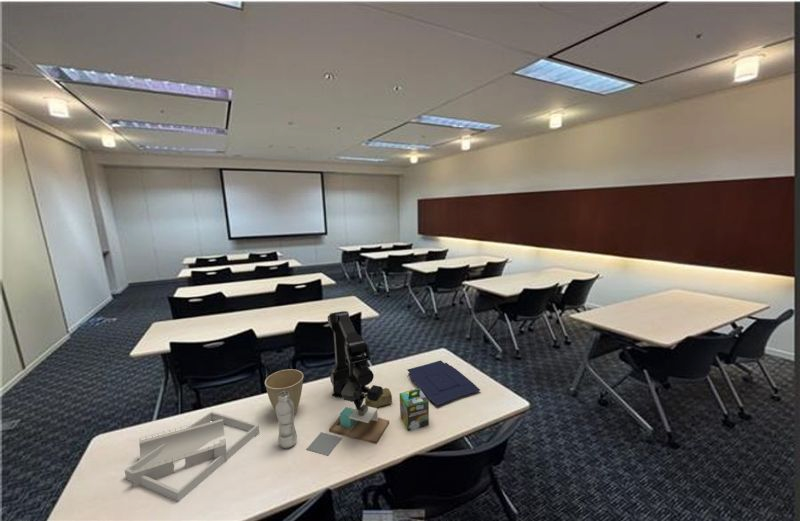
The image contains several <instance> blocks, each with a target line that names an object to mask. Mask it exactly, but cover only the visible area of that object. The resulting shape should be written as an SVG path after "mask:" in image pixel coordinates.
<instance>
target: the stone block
mask: <svg viewBox="0 0 800 521" xmlns="http://www.w3.org/2000/svg"><path fill="white" fill-rule="evenodd" d="M392 395H393V394H392V391H391V390H390V388H387V387H385V388H384V387H383V394H382V395H381V397H380V398H379V399H378V401H372V400H369V399H368V398H367V396H366V397H365V399H364V401H365V402H364V403H365V404H364V405H368V406H369V407H373V408H379V407H382V406H386V405H390V404H391V403H393V396H392Z"/></svg>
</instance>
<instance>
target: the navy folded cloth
mask: <svg viewBox="0 0 800 521" xmlns="http://www.w3.org/2000/svg"><path fill="white" fill-rule="evenodd" d="M406 370H407V372H408V373H407V374H408V376H409V378H410V379H411V380H412V381H413V382H414V383H415V384H416V385H417V386H418V388H420V389H421V391H422V392H423V393H424V395H425V396H426V397H427V398H428V400H429V401H432V402H433V404H434V405H435V406H439V405H442V404H444V403H447V402H449V401H452V400H454V399H457V398H460V397H463V396H466V395H469V394H472V393H475V392H479V391H481V389H480V388H479V387H478V386H477V385H476V384H475V383H474V382H473V381H471V380H470V379H469V378H468V377H466V376H465V375H463V373H462V372H460V371H459V370H458V369H457V368H455V367H454V366H453V365H450V364H449V363H448V362H444V361H442V359H440V360H437V361H433V362H431V363H427V364H423V365H419V366H415V367H411V368H408V369H406Z"/></svg>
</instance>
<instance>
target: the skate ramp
mask: <svg viewBox="0 0 800 521" xmlns="http://www.w3.org/2000/svg"><path fill="white" fill-rule="evenodd" d="M220 417H221V416H220ZM216 418H217V417H216ZM212 419H213V418H212ZM214 420H215V419H214ZM205 421H206V420H205ZM210 421H211V420H210ZM196 422H197V421H196ZM201 422H202V423H203V421H201ZM197 423H198V422H197ZM199 424H200V423H199ZM195 425H196V424H195ZM224 425H225V424H224V423H223V419H219V420H216V421H212V422H208V423H205V424H201V425H197V426H193V427H190V428H188V427H186V426H185V427H184V425H183V426H181V427H179V429H178V430H176V429H177V427H175V428H174V429H173V428H172V429H168V430H166V431H162V433H163V434H160V433H155V434H154V433H153V434H151V435H147V437H148V438H144V437H142V439H140V440H138V442H139V460H140V459H142V458H143V457H145V456H146V455H147V454H149V453H150V452H152V451H153V450H155V449H156V448H158V447H159V446H161V445H163V444H166V445H165V447H164V449H163V450H162V451H161V453H160V454H159V455H158V456H157V457H155V458H154V459H152V460H151V461H150V462H148V463H147V464H145V465H144V466H142V467H141V468H140V469H137V470H135V469H134V470H132V471H133V472H132V478H133V482H132V486H133V488H134V487H135V488H137V487H140V486H142V485H141V481H140V477H141V476H144V475H145V476H147V477H149V478H152V479H154V480H156V481H157V480H159V479H162V478H164V477H167V476H170V475H172V474H174V471H175V465H176V464H177V463H179V462H181V461H183V460H184V462H185V463H184V465H185V469H189V468H191V467H194V466H197V465H199V464H202V463H206V462H208V461H211V460H215V459H216V458H217V457H219V456H221V455H223V456H224V459H225V463H226V462H227V461H228V460H227V458H226V450H227V444H226V438H223V439H220V440H219V442H218V443H214V444H213V445H211V446H207V447H204V446H206V445H207V444H208V443H210V442H212V441H214V440H217V439H218V438H221V437H224V436H225V428H224V427H225V426H224ZM156 435H157V436H156ZM202 447H204V448H202ZM132 468H133V467H132ZM139 485H140V486H139Z"/></svg>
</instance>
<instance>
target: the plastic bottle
mask: <svg viewBox="0 0 800 521" xmlns="http://www.w3.org/2000/svg"><path fill="white" fill-rule="evenodd" d="M278 397H279V398H278V400H279V402H278V404H277V405H276V409H275V410H276V412H275V414H276V417H277V418H276V419H277V422H278V436H277V437H278V438H277V439H278V440H277V442H278V444H279V446H280V447H281V448H283V449H290V448H292V447H293V446H294V445H295V444H296V442H297V440H298V439H297V438H298V435H297V430H296V426H295V425H296V424H295V417H294V416H295V415H294V403H293V402H292V401H291V400H290V399H289V398H290V396H289V392H288V391H283V392H281V393H279V395H278ZM275 410H274V411H275Z"/></svg>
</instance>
